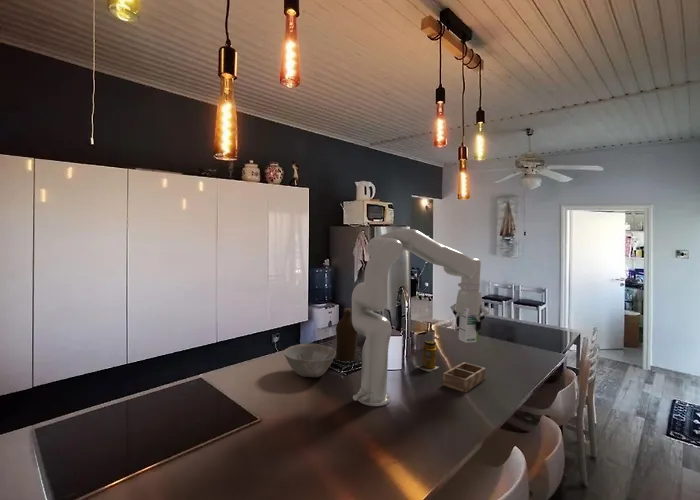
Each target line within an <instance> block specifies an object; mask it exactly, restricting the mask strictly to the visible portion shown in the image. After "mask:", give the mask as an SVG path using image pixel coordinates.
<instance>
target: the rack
mask: <svg viewBox="0 0 700 500" xmlns="http://www.w3.org/2000/svg"><path fill="white" fill-rule="evenodd" d="M486 373H487V370H486V367H483V366H479V365H476V364H471V363H468V362H465V361H464V362H461V363H459V364H457V365H455V366H453V367H452V368H450V369H448V370H447V371H444V372H443V373H442V386H445V387H447V388H450V389H452V390H457V391H459V392H462V393H467V392H469V391H470V390H472V389H474V388H475V387H476V386H478V385H480V384H481V383H482V382H484V381H485V380H486Z"/></svg>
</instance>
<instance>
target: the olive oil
mask: <svg viewBox="0 0 700 500" xmlns="http://www.w3.org/2000/svg"><path fill="white" fill-rule="evenodd" d="M358 335H359V333H358V332H357V331H356V330H355V329H354V327H353V324H352V308H350V307H346V308H344V311H343V317H342V318H340V320H339V321H338V322H337V323H336V327H335V350H336V355H335V359H337V360H340V361H353V360H357V349H358V348H357V346H358V338H359V337H358Z"/></svg>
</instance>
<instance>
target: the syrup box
mask: <svg viewBox="0 0 700 500" xmlns="http://www.w3.org/2000/svg"><path fill="white" fill-rule="evenodd" d="M476 321H477V319H476V317H475V316H473V315H470V314H469V309H468V308H465V311H464V314H461V313H460V315H459V327H458V339H459V341H461V342H462V343H463V342H464V343H465V344H466V343H478V337H479V335H478V333H479V331H476Z"/></svg>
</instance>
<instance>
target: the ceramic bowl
mask: <svg viewBox="0 0 700 500" xmlns="http://www.w3.org/2000/svg"><path fill="white" fill-rule="evenodd" d="M283 354H284V357H285V359H286V361H287V362H288V364H289V366H290V367H291V369H292V370H293V371H294V372H295V373H296V374H297V375H298V376H301V377H303V378H320V377H322V376H323V375H324V374H325V373H326V372H327V371H328V369H329V367H330V366H331V364H333V361H334V358H336V348H333V347H330V346H328V345H324V344H319V343H299V344H295V345H291V346H288V347H287V348H285V349H284V350H283Z"/></svg>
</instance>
